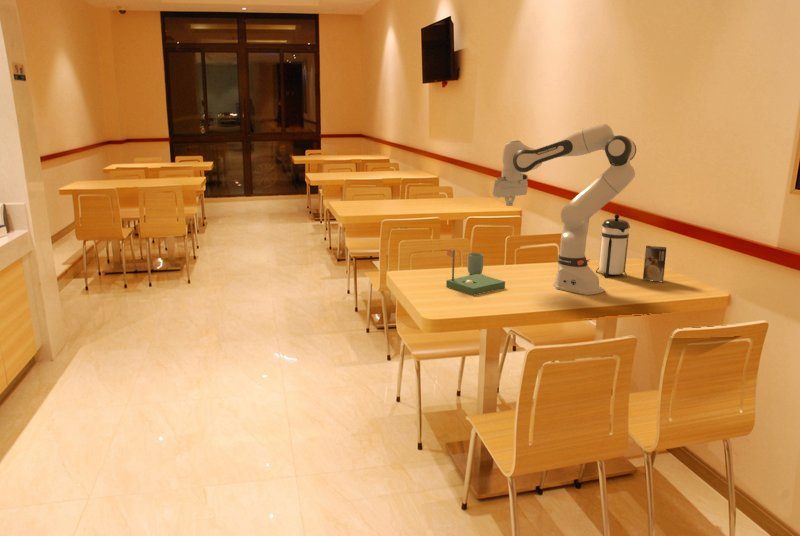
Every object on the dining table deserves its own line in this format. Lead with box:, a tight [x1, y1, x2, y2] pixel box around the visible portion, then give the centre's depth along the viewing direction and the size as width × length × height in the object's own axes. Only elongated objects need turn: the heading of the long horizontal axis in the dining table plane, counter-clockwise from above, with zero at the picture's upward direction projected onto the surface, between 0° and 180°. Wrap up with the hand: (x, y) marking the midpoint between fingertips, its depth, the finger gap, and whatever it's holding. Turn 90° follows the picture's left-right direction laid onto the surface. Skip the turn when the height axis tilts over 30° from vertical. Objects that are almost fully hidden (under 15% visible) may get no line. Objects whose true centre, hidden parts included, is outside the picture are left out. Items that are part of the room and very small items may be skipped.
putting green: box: [445, 248, 506, 296], centre depth 277 cm, size 19×20×17 cm
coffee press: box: [595, 214, 631, 279], centre depth 301 cm, size 17×16×30 cm
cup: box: [466, 252, 485, 275], centre depth 299 cm, size 8×8×10 cm
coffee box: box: [642, 245, 667, 282], centre depth 292 cm, size 9×6×16 cm
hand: (509, 205), depth 291 cm, fingers closed
